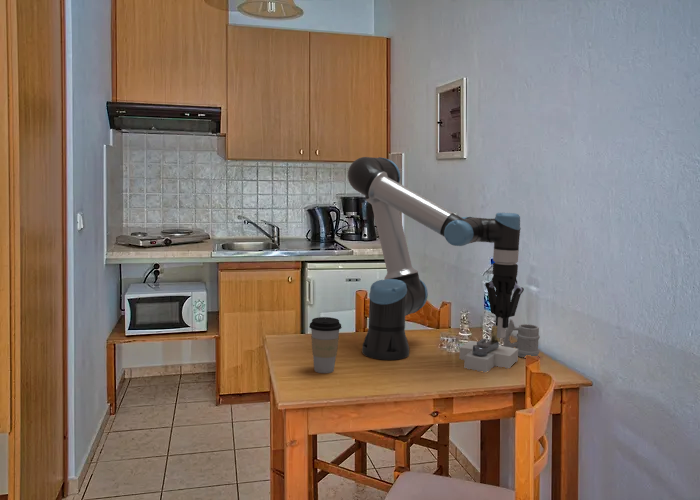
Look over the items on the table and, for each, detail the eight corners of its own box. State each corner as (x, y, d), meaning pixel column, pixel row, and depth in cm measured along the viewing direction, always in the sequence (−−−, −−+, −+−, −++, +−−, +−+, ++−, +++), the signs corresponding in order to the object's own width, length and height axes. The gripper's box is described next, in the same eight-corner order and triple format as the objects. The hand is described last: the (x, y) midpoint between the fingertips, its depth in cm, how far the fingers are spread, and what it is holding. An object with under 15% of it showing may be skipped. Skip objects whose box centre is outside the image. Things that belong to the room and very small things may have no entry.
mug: (541, 359, 204) (544, 323, 203) (504, 357, 205) (506, 321, 203) (535, 352, 212) (538, 317, 210) (500, 351, 213) (502, 316, 211)
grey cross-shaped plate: (459, 359, 202) (460, 340, 201) (469, 352, 210) (470, 334, 209) (509, 368, 194) (510, 349, 193) (517, 361, 202) (518, 342, 201)
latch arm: (482, 357, 190) (484, 335, 189) (469, 353, 193) (471, 332, 192) (503, 348, 201) (504, 327, 200) (490, 345, 203) (492, 324, 203)
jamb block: (464, 368, 193) (465, 344, 192) (471, 362, 199) (473, 339, 198) (486, 372, 189) (488, 348, 188) (493, 366, 195) (495, 342, 194)
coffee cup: (316, 377, 180) (317, 325, 178) (302, 367, 188) (304, 317, 186) (345, 373, 184) (347, 322, 182) (331, 363, 193) (333, 315, 191)
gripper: (530, 264, 194) (525, 339, 197) (495, 259, 203) (491, 331, 206) (516, 266, 189) (511, 343, 192) (481, 261, 198) (477, 334, 201)
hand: (501, 337), depth 199 cm, fingers closed
